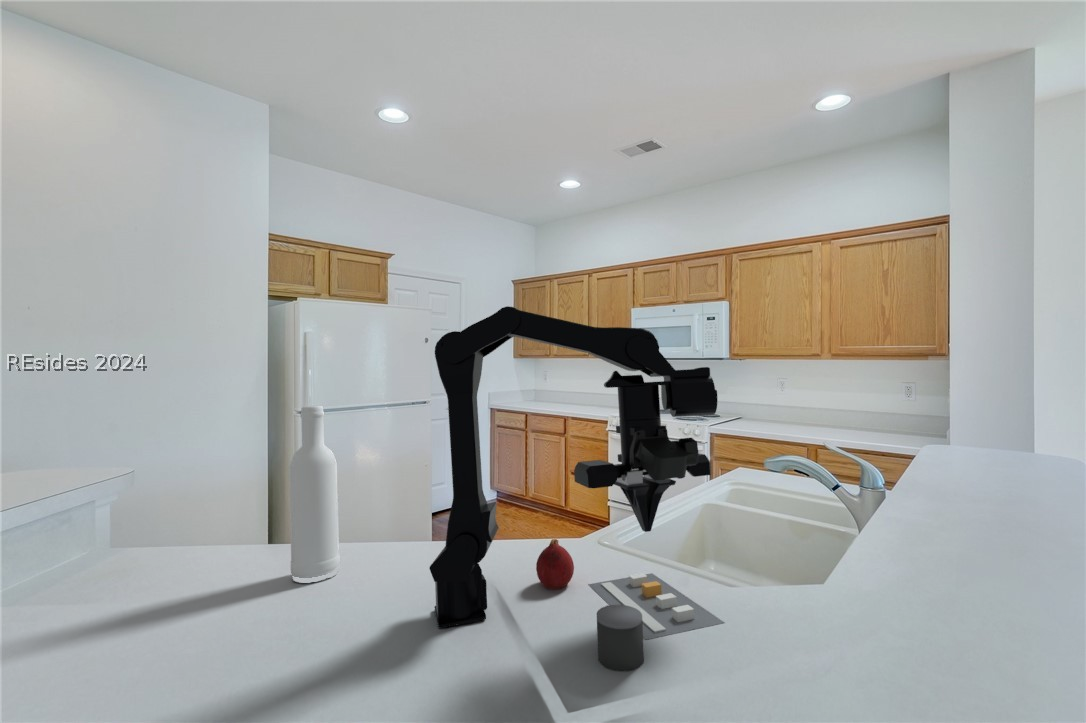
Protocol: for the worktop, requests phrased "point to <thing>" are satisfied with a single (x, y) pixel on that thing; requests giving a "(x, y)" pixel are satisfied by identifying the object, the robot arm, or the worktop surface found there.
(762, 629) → the worktop surface
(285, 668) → the worktop surface
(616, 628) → the canister
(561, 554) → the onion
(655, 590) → the block
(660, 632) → the panel
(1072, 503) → the worktop surface
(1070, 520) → the worktop surface
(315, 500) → the bottle
